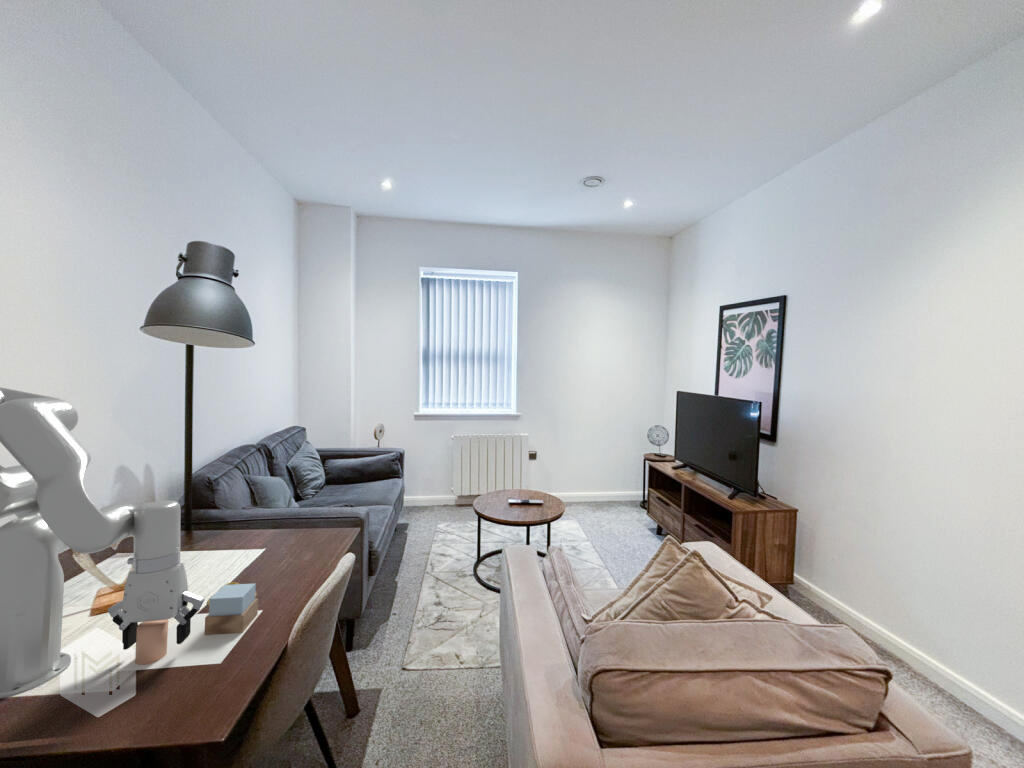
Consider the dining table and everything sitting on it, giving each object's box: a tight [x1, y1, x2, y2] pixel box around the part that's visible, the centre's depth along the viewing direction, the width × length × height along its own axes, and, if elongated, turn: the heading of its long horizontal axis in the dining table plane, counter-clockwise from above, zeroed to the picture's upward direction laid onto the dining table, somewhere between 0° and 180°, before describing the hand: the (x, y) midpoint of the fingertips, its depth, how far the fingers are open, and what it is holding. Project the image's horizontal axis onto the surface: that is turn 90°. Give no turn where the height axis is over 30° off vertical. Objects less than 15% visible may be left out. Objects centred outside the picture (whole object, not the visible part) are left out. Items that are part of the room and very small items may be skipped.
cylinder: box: [134, 619, 169, 665], centre depth 87 cm, size 5×5×7 cm
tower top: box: [208, 583, 257, 616], centre depth 99 cm, size 7×7×4 cm
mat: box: [120, 609, 264, 672], centre depth 94 cm, size 18×21×1 cm
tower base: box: [204, 598, 259, 635], centre depth 99 cm, size 8×8×4 cm
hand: (157, 642), depth 87 cm, fingers open, 9 cm apart
